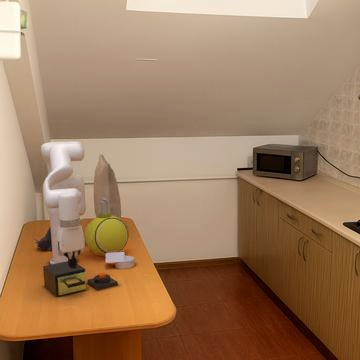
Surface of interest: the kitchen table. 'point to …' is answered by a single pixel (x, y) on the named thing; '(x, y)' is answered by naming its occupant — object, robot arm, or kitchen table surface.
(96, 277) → the control block
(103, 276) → the button
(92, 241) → the toy
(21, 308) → the kitchen table surface
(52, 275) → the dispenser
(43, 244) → the dragon figurine
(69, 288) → the tray
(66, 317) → the kitchen table surface
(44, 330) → the kitchen table surface
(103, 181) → the pillow
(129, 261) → the wedge on round base
